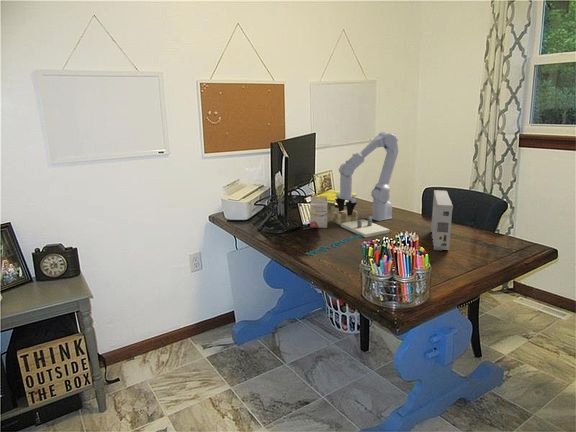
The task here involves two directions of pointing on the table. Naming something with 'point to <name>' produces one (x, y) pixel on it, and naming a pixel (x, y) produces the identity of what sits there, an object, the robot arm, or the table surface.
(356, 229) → the pin board
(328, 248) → the nameplate
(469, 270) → the table surface
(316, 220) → the ink cartridge box
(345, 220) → the block
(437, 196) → the game console
